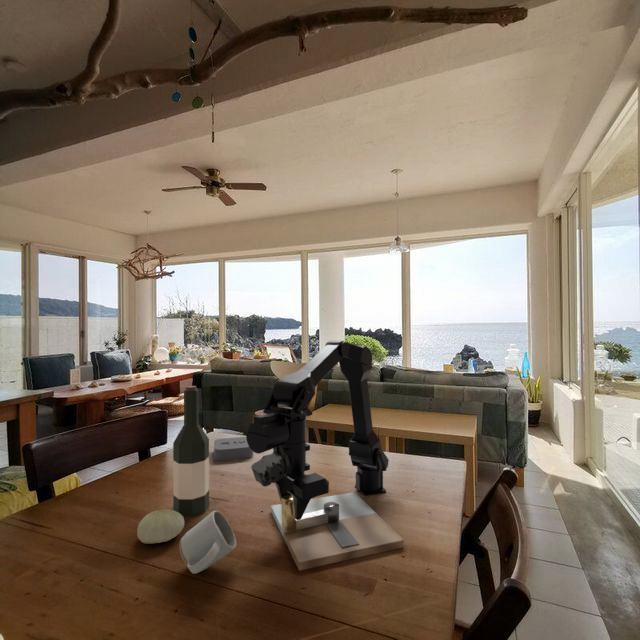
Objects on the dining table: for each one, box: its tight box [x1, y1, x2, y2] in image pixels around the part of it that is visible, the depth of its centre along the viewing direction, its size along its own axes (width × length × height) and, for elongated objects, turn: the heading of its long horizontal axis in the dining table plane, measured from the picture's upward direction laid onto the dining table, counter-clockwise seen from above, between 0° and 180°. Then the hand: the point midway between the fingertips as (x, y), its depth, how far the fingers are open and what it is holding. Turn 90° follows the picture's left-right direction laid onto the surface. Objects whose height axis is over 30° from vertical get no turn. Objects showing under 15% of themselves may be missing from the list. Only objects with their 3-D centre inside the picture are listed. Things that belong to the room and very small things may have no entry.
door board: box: [270, 491, 405, 571], centre depth 87 cm, size 22×24×2 cm
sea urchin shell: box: [136, 508, 186, 545], centre depth 84 cm, size 9×8×8 cm
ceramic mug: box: [178, 510, 237, 575], centre depth 72 cm, size 11×8×8 cm
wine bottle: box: [172, 385, 210, 518], centre depth 97 cm, size 8×8×30 cm
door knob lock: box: [280, 495, 339, 533], centre depth 85 cm, size 13×3×6 cm, turn 116°
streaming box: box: [213, 436, 254, 462], centre depth 136 cm, size 13×13×5 cm
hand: (291, 514), depth 82 cm, fingers open, 5 cm apart
